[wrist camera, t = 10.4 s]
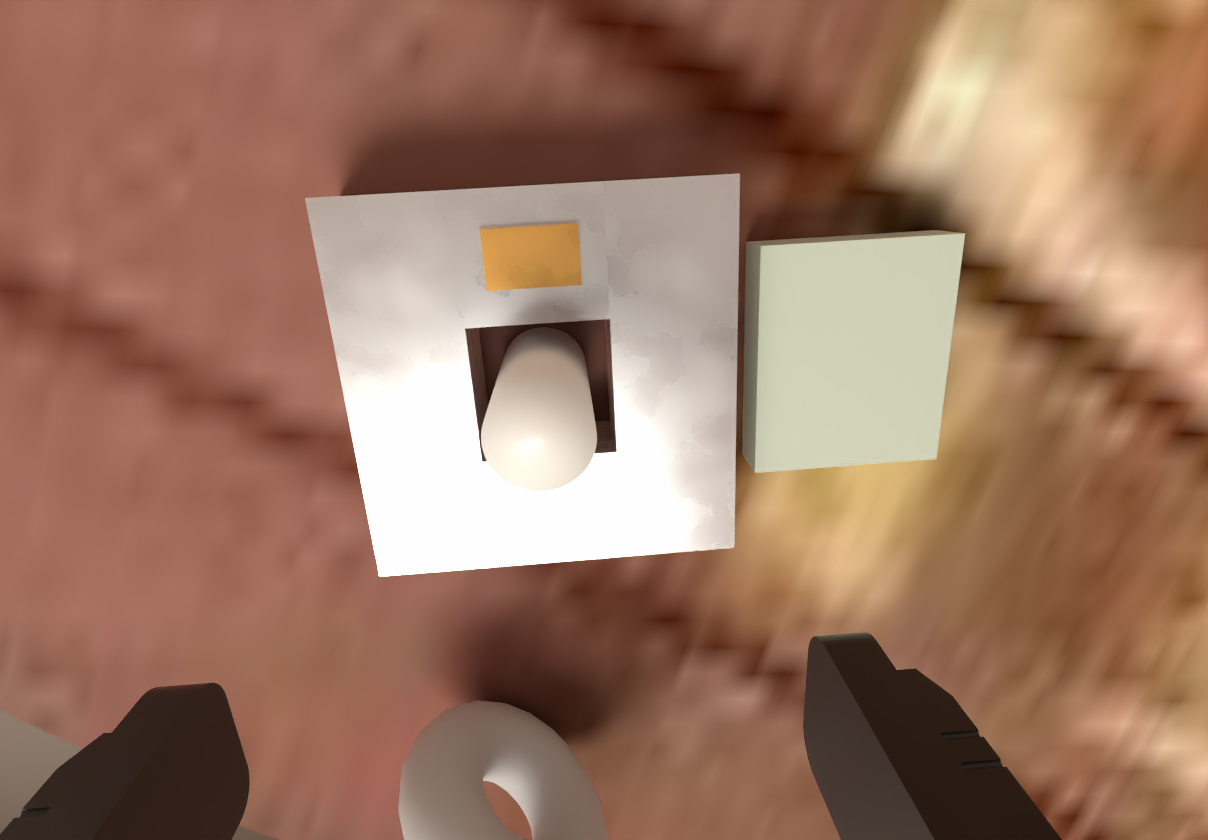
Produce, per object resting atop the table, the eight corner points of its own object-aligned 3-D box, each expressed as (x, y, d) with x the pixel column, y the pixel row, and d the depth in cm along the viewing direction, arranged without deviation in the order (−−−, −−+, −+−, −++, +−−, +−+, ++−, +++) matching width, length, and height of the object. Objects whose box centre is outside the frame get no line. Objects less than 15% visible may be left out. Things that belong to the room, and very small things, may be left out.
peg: (583, 324, 26) (594, 380, 19) (588, 404, 27) (599, 487, 20) (498, 329, 26) (474, 386, 19) (506, 409, 27) (487, 494, 20)
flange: (715, 175, 25) (741, 173, 21) (714, 507, 29) (735, 550, 26) (339, 196, 24) (302, 198, 21) (399, 532, 29) (378, 579, 25)
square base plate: (935, 229, 26) (965, 233, 24) (911, 441, 29) (936, 458, 27) (746, 241, 26) (760, 246, 24) (741, 454, 29) (754, 472, 27)
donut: (615, 741, 34) (637, 956, 24) (574, 783, 34) (580, 1007, 25) (450, 648, 31) (403, 848, 22) (410, 697, 32) (348, 909, 22)
